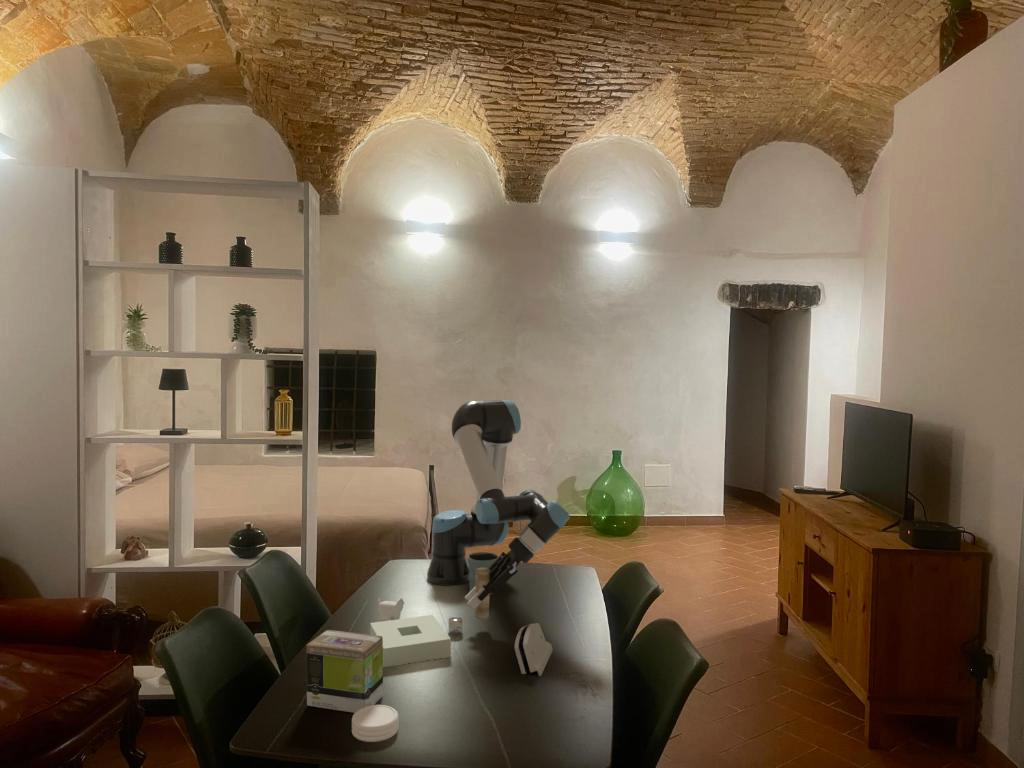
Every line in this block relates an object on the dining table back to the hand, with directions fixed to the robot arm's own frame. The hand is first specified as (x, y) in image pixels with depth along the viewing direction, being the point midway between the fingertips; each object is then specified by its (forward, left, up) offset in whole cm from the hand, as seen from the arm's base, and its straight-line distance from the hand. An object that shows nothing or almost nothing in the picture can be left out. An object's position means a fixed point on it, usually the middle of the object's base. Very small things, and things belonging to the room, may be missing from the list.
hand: (469, 603), depth 214 cm
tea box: (+29, -40, -8) cm, 51 cm away
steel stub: (0, -4, -8) cm, 9 cm away
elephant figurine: (-15, -20, -8) cm, 26 cm away
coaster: (+44, -36, -8) cm, 58 cm away
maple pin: (+1, +4, -4) cm, 6 cm away
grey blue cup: (-30, +15, -8) cm, 34 cm away
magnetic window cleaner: (+25, +9, -8) cm, 28 cm away
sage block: (+6, -19, -8) cm, 22 cm away
